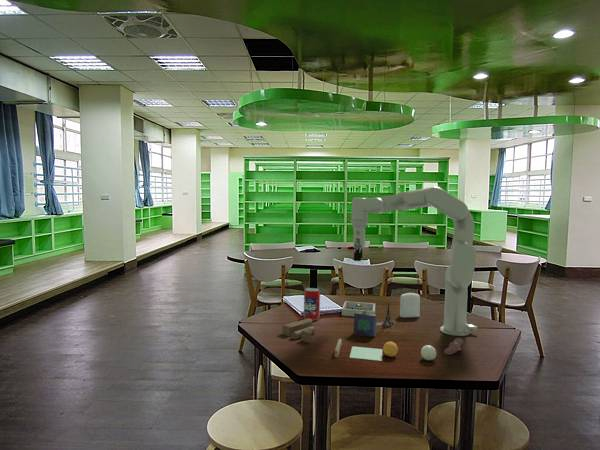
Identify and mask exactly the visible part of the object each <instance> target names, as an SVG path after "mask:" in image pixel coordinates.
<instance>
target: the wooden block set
mask: <svg viewBox="0 0 600 450" xmlns="http://www.w3.org/2000/svg"><path fill="white" fill-rule="evenodd" d="M281 328H282V330H281V331H282V332H281V334H282V335H283V336H287V337H291V338H292V340H298V339H301V341H302V342H305V343H308V344H310V345H311V344H312V335H313V334H315V333H316V328H315V326H313V321H312V319H310V318H307V319H305V318H304V319H301V320H295V321H292V322H289V323H285V324H282V327H281Z"/></svg>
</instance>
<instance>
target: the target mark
mask: <svg viewBox="0 0 600 450" xmlns="http://www.w3.org/2000/svg"><path fill="white" fill-rule="evenodd" d="M349 358H350V359H358V360H369V361H375V362H377V361H378V362H383V348H373V347H362V346H354V345H353V346H351V350H350V354H349Z"/></svg>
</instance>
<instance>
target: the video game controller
mask: <svg viewBox="0 0 600 450" xmlns="http://www.w3.org/2000/svg"><path fill="white" fill-rule="evenodd" d="M464 342H465V341H464V340H463V338H461V337H457V338H456V337H455V339H454V340H453V341H451V342H450V343H449V344H448V347H447V348H445V349H444V351H443V353H444V354H445V355H447V356H449V355H453V354H454V355H456V353H457V352H458V351H461V350H462V348H461V347H462V346H463V344H464Z"/></svg>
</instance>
